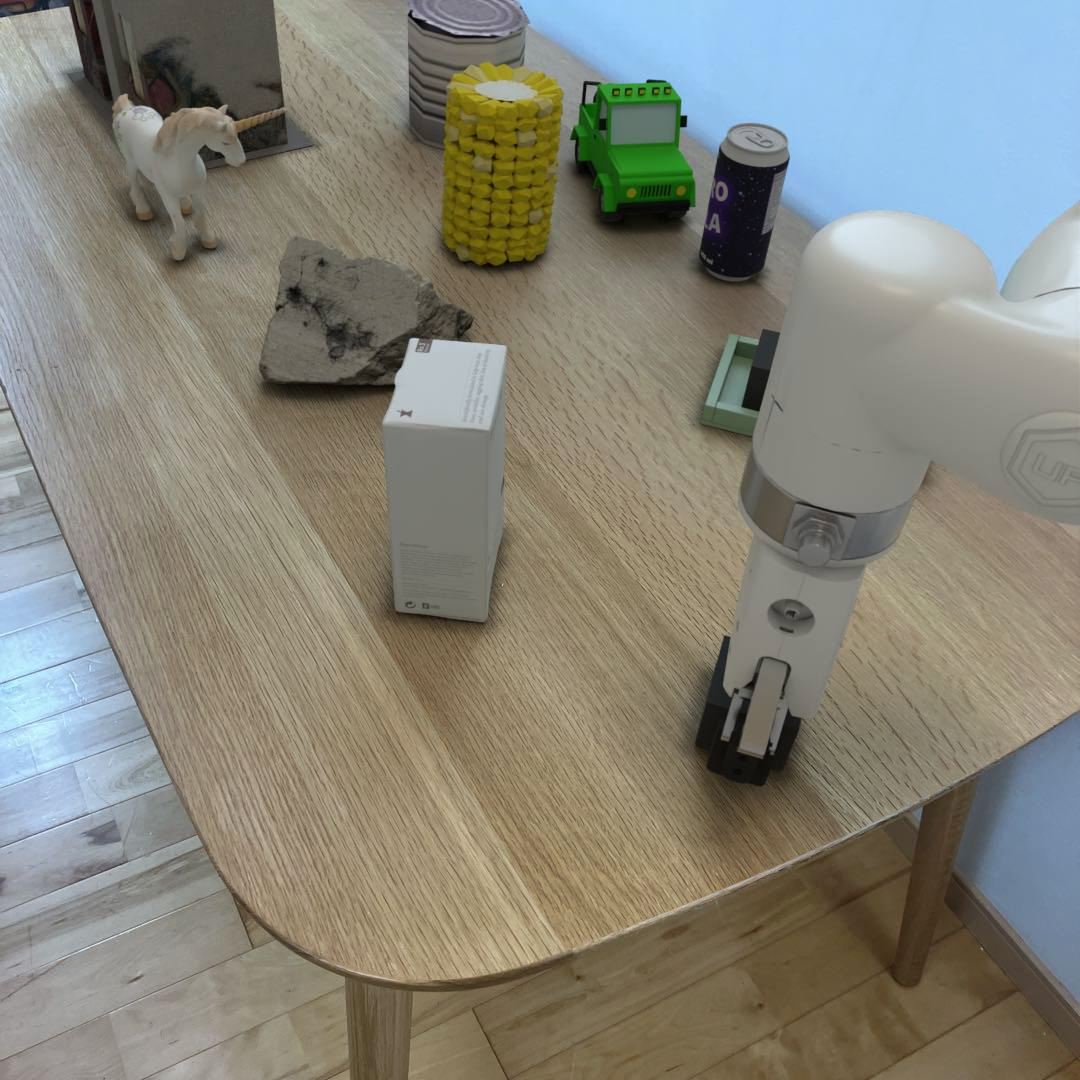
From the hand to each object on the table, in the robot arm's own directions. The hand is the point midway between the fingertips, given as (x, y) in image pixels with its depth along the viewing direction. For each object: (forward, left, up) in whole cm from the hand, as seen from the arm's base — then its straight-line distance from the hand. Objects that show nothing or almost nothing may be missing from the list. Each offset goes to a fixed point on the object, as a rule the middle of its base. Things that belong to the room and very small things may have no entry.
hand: (749, 712), depth 63 cm
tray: (0, -30, -1) cm, 30 cm away
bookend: (+67, -54, -1) cm, 86 cm away
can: (+40, -62, -1) cm, 74 cm away
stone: (+34, -24, -1) cm, 42 cm away
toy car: (+22, -57, -1) cm, 61 cm away
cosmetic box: (+20, -5, -1) cm, 21 cm away
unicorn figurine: (+53, -35, -1) cm, 64 cm away
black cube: (0, 0, -1) cm, 1 cm away
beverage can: (+10, -47, -1) cm, 48 cm away
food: (+30, -43, -1) cm, 52 cm away
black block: (+3, -30, -1) cm, 30 cm away
